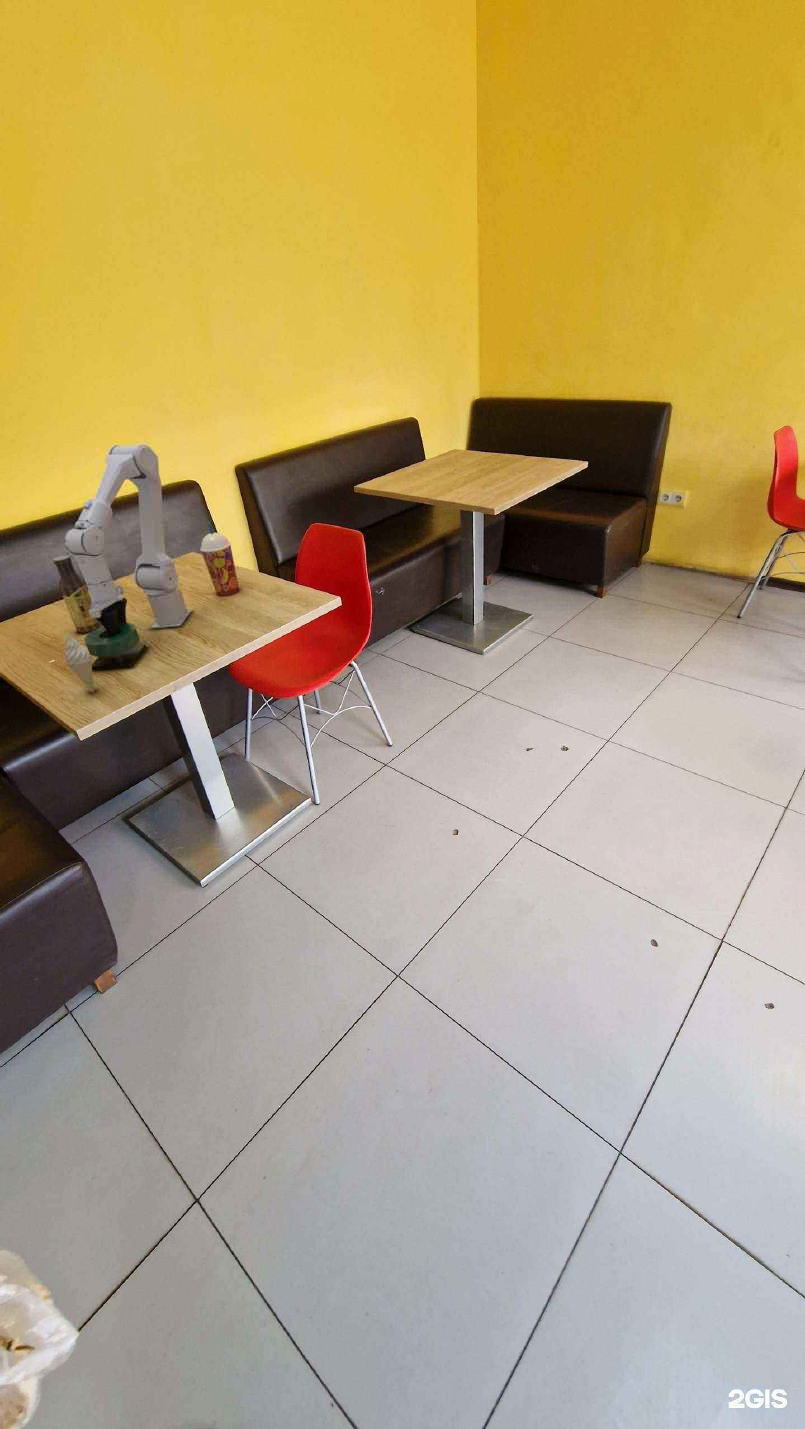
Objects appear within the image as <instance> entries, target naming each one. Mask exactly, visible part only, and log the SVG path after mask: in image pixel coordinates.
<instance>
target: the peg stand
mask: <svg viewBox="0 0 805 1429" xmlns="http://www.w3.org/2000/svg"><path fill="white" fill-rule="evenodd" d="M147 649H148V646H147V644H146V643H138V644H137V645H136V646H135V647H133V648H131V649H129V650H128V651H126V652H123V653H120V654H116V655H113V656H106V657H96V659H95V660H94V661H93V662H92V663H91V664H92V672H95V671H111V670H121V669H132V668H133V667H134V665H135V664H136V663H137V662H138V661H139V659H140V658H141V657H142V656H143V654H144V653H145V652H146V650H147Z"/></svg>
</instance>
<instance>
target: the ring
mask: <svg viewBox="0 0 805 1429" xmlns="http://www.w3.org/2000/svg"><path fill="white" fill-rule="evenodd" d="M118 625H119V629H120V634H118V635H116V636H114V637H111V636H110V634H109V633H108V632H107V630H106V629H105V628H104V626H103V625H101V626H99V627H98V628H97V629H95V630H93V631H90V632H88V634H86V636H85V637H84V638H83V640H84V644H85V647H86V648H87V649H88V652H89V654H90V656H91V657H92V656H93V657H96V658H98V657H106V656H113V655H116V654H120V653H123V652H126V651H128V650H129V649H131V648H133V647H135V646H136V645H139V642H140V641H141V638H140V636H139V634H138V630H137V628H136V626H135V624H134V623H131V622H128V621H127V622H124V623H118Z"/></svg>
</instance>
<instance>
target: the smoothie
mask: <svg viewBox="0 0 805 1429" xmlns="http://www.w3.org/2000/svg"><path fill="white" fill-rule="evenodd" d="M207 525H208V530H209V533H207V534H206V535H205V536H204V537H203V539H202V540H201V544H200V545H201V546H200V551H201V554H202V557H203V561H204V563H205V566H206V568H207V571H208V575H209V578H210V579H211V583H212V585H213V588H214V591H216V592H217V594H218V595H220V596H229V595H233V594H235V593H236V592H237V591H238V588H239V580H238V576H237V572H236V566H235V561H234V557H233V556H234V555H233V551H232V545H231V544H232V543H231V542H230V541H229V540H228V538H226V536H225V535H223V534H221V533H219V532H214V531H213V527H212V523H211V522H208V523H207Z"/></svg>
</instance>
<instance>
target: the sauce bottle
mask: <svg viewBox="0 0 805 1429" xmlns="http://www.w3.org/2000/svg"><path fill="white" fill-rule="evenodd" d="M52 561H53V563H54V565H55V566H56V569H57V571H58V574H59V576H60V578H59V583H58V584H59V586H58V587H59V589H60V591H61V594H62V597H63V600H64V603H65V605H66V607H67V610H68V612H69V615H70V618H71V621H72V622H73V625H74V627H75V628H76V631H77V632H79V633H90V632H92V631H94V630H96V629H98V628H100V627H101V626H100V625H101V623H100V622H99V621H97V620H96V619H95V618H91V616H90V614H89V610H90V608H91V604H92V600H93V599H92V597H91V594H90V592H89V589H88V587H87V584H86V583H85V581H83V580H82V579H81V577H80V576H79V574H78V573H77V572H76V570H75V567H74V564H73V561H72V558H71V556H70V555H68V554H67V555H60V556H57V557H55V558H53V560H52Z"/></svg>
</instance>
